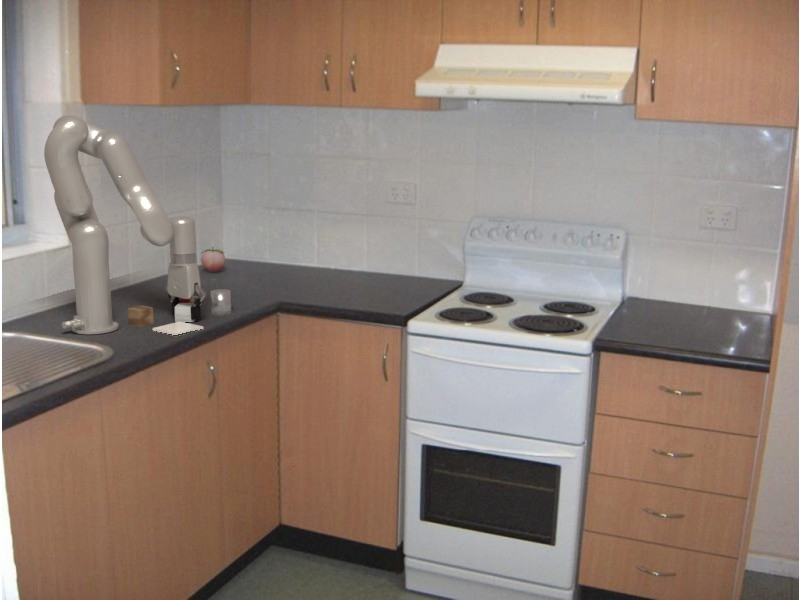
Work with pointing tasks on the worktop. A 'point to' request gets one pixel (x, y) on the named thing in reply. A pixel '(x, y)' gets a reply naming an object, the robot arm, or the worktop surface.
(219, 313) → the tin
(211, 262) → the decorative fruit
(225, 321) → the worktop surface
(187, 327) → the plate
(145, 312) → the walnut block
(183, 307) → the small box
